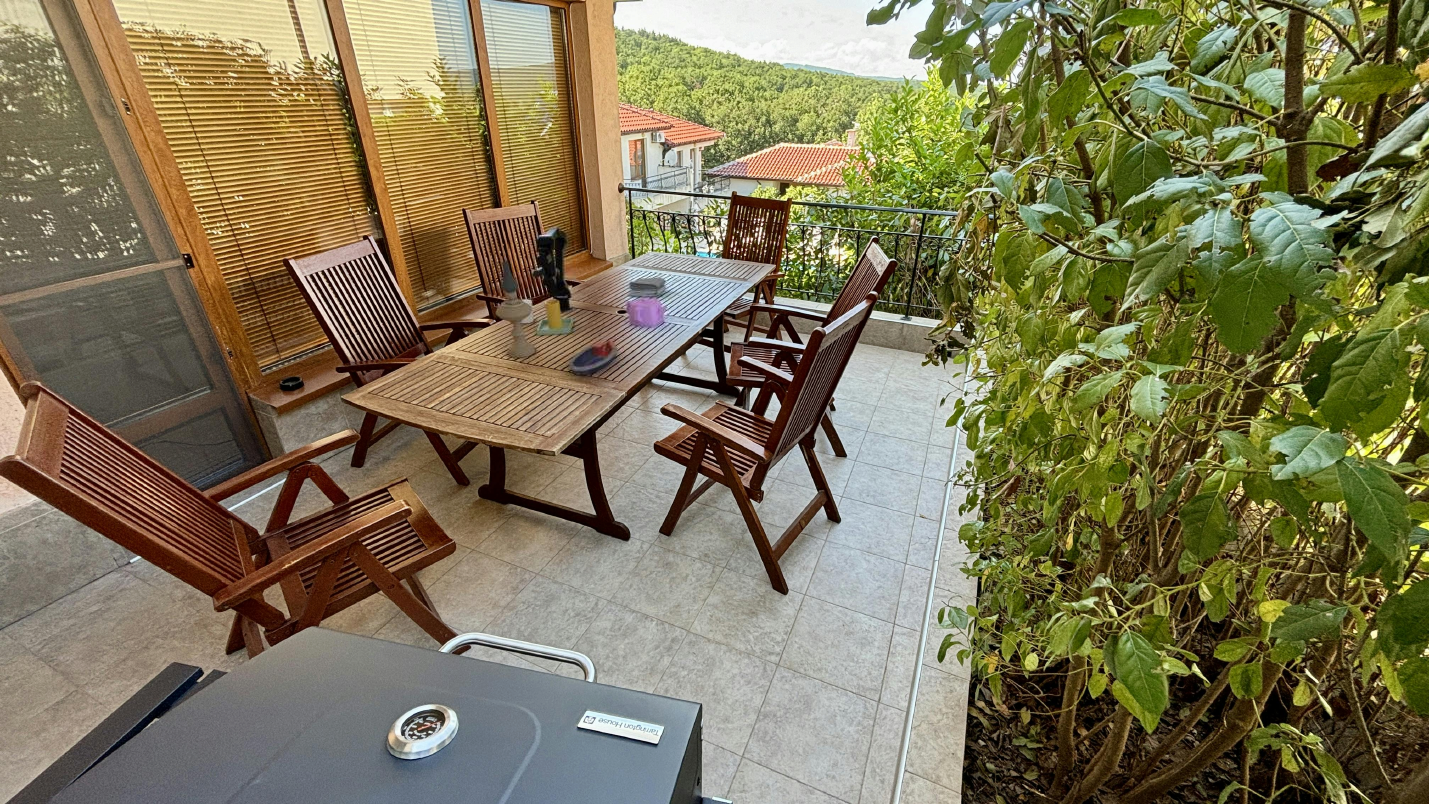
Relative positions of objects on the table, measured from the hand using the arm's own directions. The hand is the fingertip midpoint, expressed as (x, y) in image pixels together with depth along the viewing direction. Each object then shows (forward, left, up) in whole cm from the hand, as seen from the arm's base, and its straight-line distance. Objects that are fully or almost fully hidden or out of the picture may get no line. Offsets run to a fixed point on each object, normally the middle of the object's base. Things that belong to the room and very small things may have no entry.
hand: (553, 293), depth 296 cm
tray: (+11, +11, -13) cm, 20 cm away
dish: (+32, +58, -13) cm, 68 cm away
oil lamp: (+40, +21, -13) cm, 47 cm away
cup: (+11, +11, -12) cm, 20 cm away
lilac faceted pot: (-19, +44, -13) cm, 50 cm away
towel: (-57, +12, -13) cm, 60 cm away
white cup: (+11, -10, -13) cm, 20 cm away
